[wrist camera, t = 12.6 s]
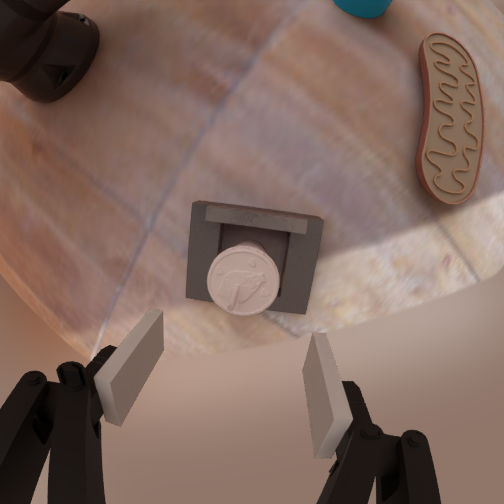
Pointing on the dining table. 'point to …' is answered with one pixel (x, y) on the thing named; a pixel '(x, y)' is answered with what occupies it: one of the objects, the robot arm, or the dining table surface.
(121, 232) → the dining table surface
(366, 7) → the mug
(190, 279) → the jig
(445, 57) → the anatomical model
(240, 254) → the smoothie
